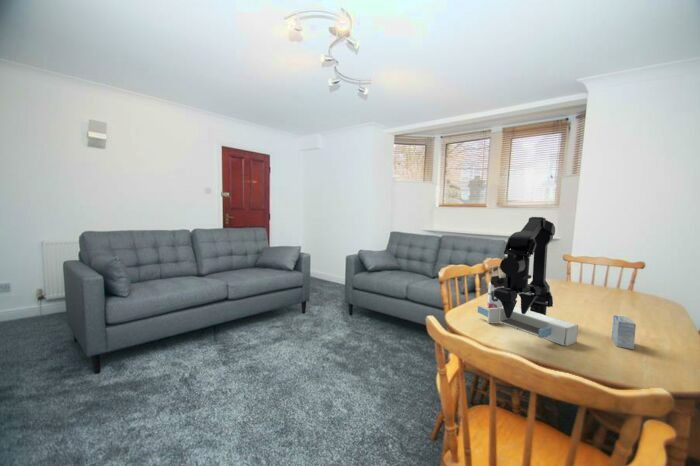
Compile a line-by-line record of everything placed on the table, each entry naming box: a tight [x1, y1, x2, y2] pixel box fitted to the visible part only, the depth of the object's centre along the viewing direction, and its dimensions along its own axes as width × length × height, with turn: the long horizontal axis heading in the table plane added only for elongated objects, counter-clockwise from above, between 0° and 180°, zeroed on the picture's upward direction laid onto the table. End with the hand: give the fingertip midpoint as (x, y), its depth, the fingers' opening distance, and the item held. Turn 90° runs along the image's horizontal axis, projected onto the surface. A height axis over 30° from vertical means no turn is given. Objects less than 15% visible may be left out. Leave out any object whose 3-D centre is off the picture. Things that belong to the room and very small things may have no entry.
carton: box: [498, 305, 579, 347], centre depth 110 cm, size 7×24×6 cm, turn 30°
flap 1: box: [477, 305, 500, 324], centre depth 120 cm, size 7×5×6 cm
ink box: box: [487, 281, 509, 309], centre depth 135 cm, size 8×5×12 cm, turn 72°
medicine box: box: [611, 314, 637, 350], centre depth 102 cm, size 8×4×9 cm, turn 148°
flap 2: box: [537, 323, 566, 346], centre depth 99 cm, size 7×5×6 cm
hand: (515, 315), depth 103 cm, fingers open, 9 cm apart
